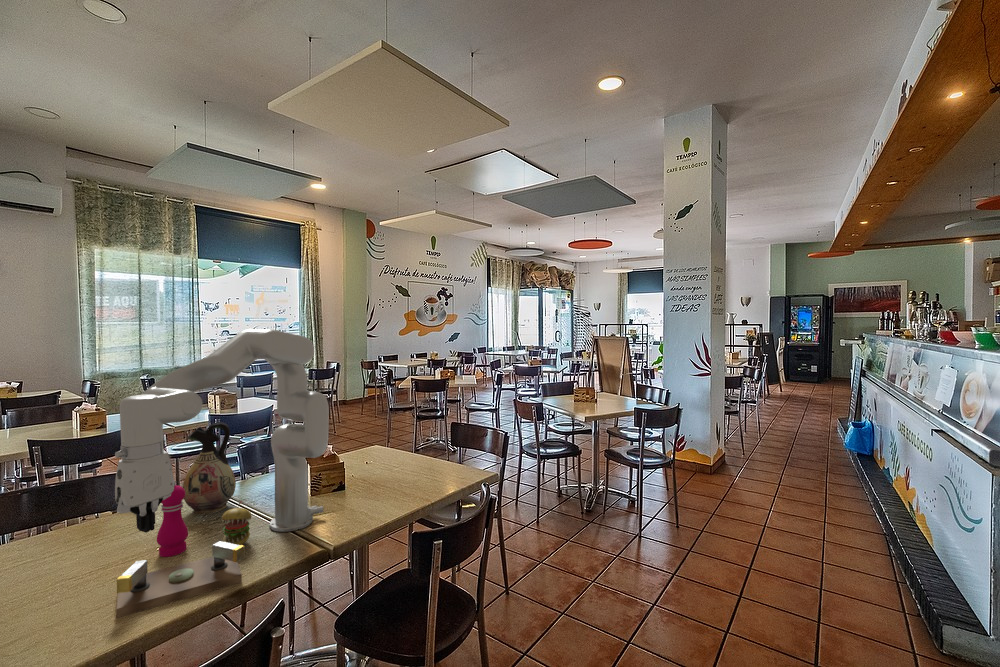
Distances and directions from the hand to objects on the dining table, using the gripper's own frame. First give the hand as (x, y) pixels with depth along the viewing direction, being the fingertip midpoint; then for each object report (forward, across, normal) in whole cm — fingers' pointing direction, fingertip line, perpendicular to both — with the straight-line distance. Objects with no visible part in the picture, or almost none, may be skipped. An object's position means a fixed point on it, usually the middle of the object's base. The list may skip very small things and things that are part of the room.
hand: (146, 529), depth 107 cm
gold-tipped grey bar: (+15, +15, -6) cm, 22 cm away
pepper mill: (+18, +17, +19) cm, 31 cm away
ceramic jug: (+18, +41, +37) cm, 58 cm away
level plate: (+17, +8, +1) cm, 19 cm away
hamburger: (+18, +28, +8) cm, 34 cm away
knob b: (+15, -2, +3) cm, 15 cm away
